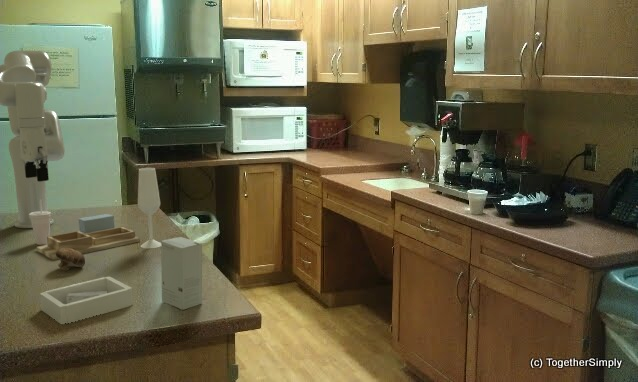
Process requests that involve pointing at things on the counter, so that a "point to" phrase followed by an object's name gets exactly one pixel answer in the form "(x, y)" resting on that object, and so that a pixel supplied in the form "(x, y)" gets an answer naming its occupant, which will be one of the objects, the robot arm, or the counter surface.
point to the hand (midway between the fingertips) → (37, 179)
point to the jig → (88, 241)
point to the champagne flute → (148, 200)
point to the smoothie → (40, 225)
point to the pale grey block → (96, 223)
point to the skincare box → (181, 272)
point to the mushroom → (70, 258)
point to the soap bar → (82, 296)
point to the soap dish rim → (86, 300)
